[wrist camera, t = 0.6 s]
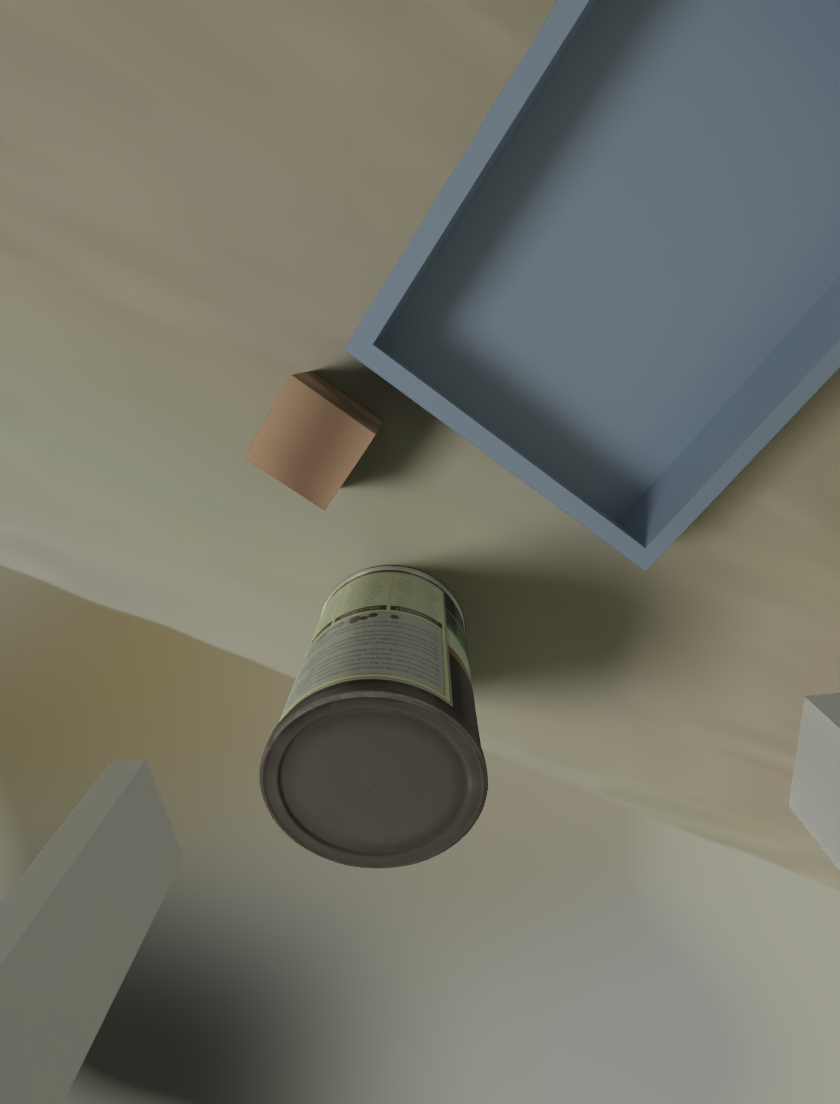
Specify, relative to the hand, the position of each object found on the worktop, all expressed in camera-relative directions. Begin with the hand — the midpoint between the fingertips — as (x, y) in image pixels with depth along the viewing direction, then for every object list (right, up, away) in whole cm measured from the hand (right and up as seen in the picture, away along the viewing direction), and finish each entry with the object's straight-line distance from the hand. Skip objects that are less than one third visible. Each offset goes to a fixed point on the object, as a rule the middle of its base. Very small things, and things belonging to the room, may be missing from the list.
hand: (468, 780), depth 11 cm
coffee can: (-3, -1, +26) cm, 26 cm away
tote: (+11, +21, +17) cm, 29 cm away
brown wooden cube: (-7, +12, +21) cm, 25 cm away
